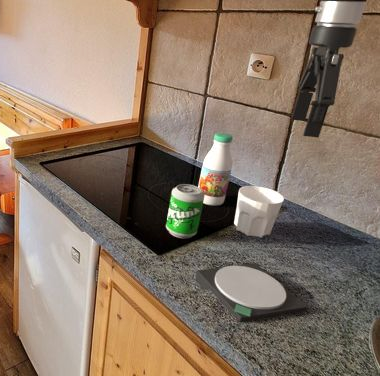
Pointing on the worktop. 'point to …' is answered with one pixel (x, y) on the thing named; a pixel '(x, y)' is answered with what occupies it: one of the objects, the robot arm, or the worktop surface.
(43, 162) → the worktop surface
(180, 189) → the soda can
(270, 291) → the scale
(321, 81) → the robot arm
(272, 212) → the cup
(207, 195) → the milk bottle
